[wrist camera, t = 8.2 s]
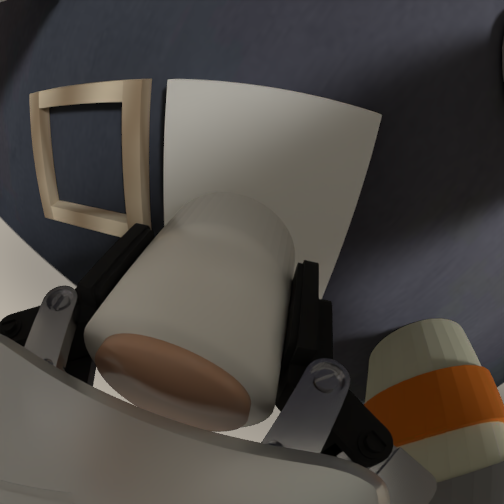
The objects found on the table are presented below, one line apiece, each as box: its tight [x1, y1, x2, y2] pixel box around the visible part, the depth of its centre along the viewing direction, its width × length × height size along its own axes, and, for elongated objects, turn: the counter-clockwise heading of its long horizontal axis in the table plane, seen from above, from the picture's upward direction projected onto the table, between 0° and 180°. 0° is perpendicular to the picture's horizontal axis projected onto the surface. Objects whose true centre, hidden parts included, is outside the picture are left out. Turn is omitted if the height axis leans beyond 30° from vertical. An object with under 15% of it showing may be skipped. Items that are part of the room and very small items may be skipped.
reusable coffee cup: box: [364, 318, 504, 504], centre depth 14 cm, size 13×12×15 cm
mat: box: [164, 79, 382, 299], centre depth 15 cm, size 10×13×1 cm
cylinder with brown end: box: [84, 192, 295, 432], centre depth 10 cm, size 8×6×7 cm
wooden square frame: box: [30, 79, 152, 237], centre depth 15 cm, size 10×10×1 cm
